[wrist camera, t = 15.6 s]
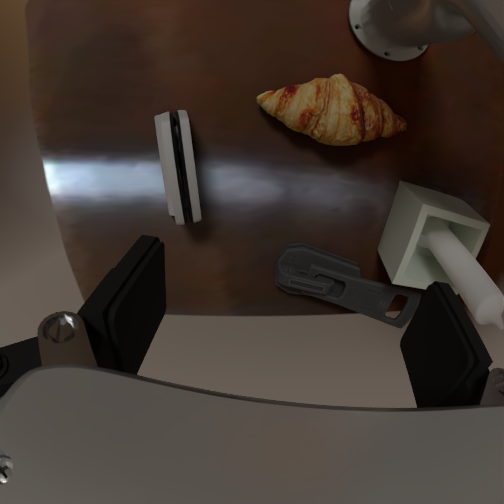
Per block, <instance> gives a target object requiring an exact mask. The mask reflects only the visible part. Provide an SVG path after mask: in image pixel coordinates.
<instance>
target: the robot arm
mask: <svg viewBox="0 0 504 504" xmlns="http://www.w3.org/2000/svg"><path fill="white" fill-rule="evenodd" d="M348 20H349V24H350V27H351V29H352V31H353V34H354V35H355V37H356V38H357V40H358V41H359V42H360V43H361V44H362V45H363V46H364V47H365V48H366V49H367V50H368V51H370V52H371V53H373V54H375V55H376V56H378V57H381V58H383V59H386V60H391V61H406V60H410V59H414V58H416V57H417V56H419V55H421V54H422V53H423V52H424V51H425V50H426V48H427V47H428V45H431V44H436V43H441V42H447V41H453V40H458V39H462V38H465V37H467V36H469V35H470V34H471V33H473V32H474V31H476V32H477V33H478V34H479V35H480V37H481V38H482V39H483V40H484V41H485V42H486V43H487V44H488V46H489V47H490V48H491V50H492V51H493V52H494V54H495V55H496V56H497V58H498V59H499V61H500V62H501V63H502V65H503V66H504V0H351V2H350V4H349V9H348ZM355 26H357V27H358V29H356V28H355ZM418 47H419V50H418ZM384 53H387V56H386V55H385V54H384ZM165 311H166V286H165V253H164V243H163V242H160V240H159V238H158V237H153V236H147V235H142V236H140V238H139V239H138V240H137V241H136V242H135V244H134V245H133V246H132V247H131V248H130V250H129V251H128V252H127V253H126V254H125V256H124V257H123V258H122V259H121V261H120V262H119V263H118V264H117V266H116V267H115V268H112V269H111V270H110V271H109V272H108V274H107V275H106V276H105V277H104V279H103V280H102V281H101V282H100V284H99V285H98V286H97V288H96V289H95V290H94V291H93V293H92V294H91V295H90V297H89V298H88V299H87V301H86V302H85V303H84V305H83V306H82V307H81V309H80V310H79V311H78V313H77V314H75V313H73V312H68V311H61V312H56V313H53V314H51V315H49V316H48V317H46V318H45V319H44V320H43V321H42V322H41V323H40V325H39V327H38V334H37V335H38V336H37V337H34V338H30V339H27V340H24V341H21V342H18V343H14V344H11V345H8V346H5V347H1V348H0V504H504V369H501V368H494V369H493V370H491V372H490V371H489V369H488V367H489V366H490V365H491V363H492V362H493V361H492V359H491V357H490V355H489V353H488V351H487V349H486V347H485V345H484V343H483V341H482V340H481V338H480V336H479V334H478V332H477V330H476V328H475V327H474V325H473V323H472V321H471V320H470V318H469V316H468V315H467V313H466V311H465V309H464V308H463V306H462V304H461V302H460V301H459V299H458V297H457V296H456V294H455V292H454V291H453V289H452V288H451V286H450V285H449V283H444V282H438V281H434V282H433V283H432V284H430V285H428V287H427V289H426V291H425V293H424V295H423V297H422V299H421V301H420V303H419V305H418V307H417V309H416V311H415V313H414V315H413V317H412V319H411V321H410V323H409V325H408V327H407V329H406V331H405V333H404V335H403V337H402V339H401V342H400V348H401V351H402V354H403V358H404V361H405V364H406V368H407V371H408V375H409V378H410V382H411V385H412V389H413V393H414V397H415V400H416V404H417V408H365V407H343V406H327V405H314V404H302V403H293V402H284V401H276V400H267V399H259V398H253V397H246V396H239V395H233V394H227V393H221V392H215V391H210V390H204V389H199V388H194V387H189V386H184V385H179V384H174V383H170V382H165V381H160V380H156V379H152V378H147V377H143V376H139V375H137V373H138V371H139V368H140V366H141V364H142V362H143V360H144V357H145V355H146V353H147V350H148V349H149V346H150V344H151V342H152V340H153V338H154V336H155V333H156V331H157V329H158V327H159V325H160V323H161V321H162V319H163V317H164V314H165Z"/></svg>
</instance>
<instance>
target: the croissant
mask: <svg viewBox="0 0 504 504" xmlns="http://www.w3.org/2000/svg"><path fill="white" fill-rule="evenodd" d="M257 102H258V104H259V105H260V106H261V107H263V109H264V110H265V111H266V112H267V113H268V114H270V115H272V116H273V117H276V118H277V119H278V120H279V121H282V122H283V123H284V124H285V125H286V126H287V127H288V128H290V129H292V130H294V131H297V132H302V133H304V134H307V135H309V136H311V137H312V138H313V139H315V140H316V141H317V142H320V143H324V144H327V145H333V146H348V145H357V144H358V143H361V142H362V141H369V140H374V139H376V138H377V137H379V136H381V137H386V138H389V137H391V136H393V135H395V134H399V133H400V132H405V131H406V130H407V123H406V121H405V119H404V118H403V117H401V116H399V115H396V114H394V113H393V111H392V109H391V108H390V107H389V106H388V105H387V104H386V103H385V102H384V101H383V100H382V99H378V98H377V97H376V96H375V95H373V94H370V93H369V92H368V91H367V89H365V88H364V87H363V86H361V85H358V84H356V83H352V82H350V81H349V80H348V79H347V77H346V76H344V75H343V74H338V75H337V74H335V75H333V76H331V77H330V78H329V79H327V78H315V79H314V80H312V81H311V82H308V83H306V84H302V85H289V86H287V87H284V88H282V89H279V90H277V91H266V92H265V93H263V94H261V95H259V96H258V97H257Z"/></svg>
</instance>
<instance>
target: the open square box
mask: <svg viewBox="0 0 504 504" xmlns="http://www.w3.org/2000/svg"><path fill="white" fill-rule="evenodd" d="M427 215H432V216H435V217H439V218H442V219H446V220H449V229H450V230H451V232H452V233H453V234H454V235H455V236H456V237H457V238H458V239H459V241H460V242H461V243H462V244H463V245H464V246H465V248H466V249H467V250H468V251H469V252H470V253H471V255H472V256H473V257H474V258H475V259H476V257H477V255H478V252H479V250H480V248H481V246H482V243H483V241H484V239H485V236H486V234H487V232H488V229H489V227H490V224H489V223H488V222H487V221H486V220H485V219H484V218H482V217H481V216H480V215H479V214H478V213H477V212H476V211H474V210H473V209H472V208H471V207H470V206H469V205H468V204H466V203H465V202H464V201H463V200H462V199H459V198H456V197H453V196H450V195H447V194H444V193H441V192H437V191H434V190H431V189H428V188H424V187H421V186H418V185H414V184H411V183H407V182H404V181H399V185H398V188H397V191H396V195H395V198H394V201H393V204H392V207H391V210H390V213H389V216H388V219H387V222H386V225H385V228H384V231H383V234H382V237H381V240H380V243H379V246H378V248H377V250H378V253H379V255H380V257H381V259H382V261H383V264H384V266H385V268H386V270H387V273H388V275H389V277H390V280H391V282H392V284H397V285H403V286H409V287H414V288H420V289H427V287H428V285H430V284H432V283H433V282H434V281H438V282H444V283H449V285H450V286H451V288H452V289H453V291H454V292H455V294H456V295H458V293H459V292H458V291H457V289H456V288H455V286H454V284H453V283H452V281H451V280H450V278H449V277H448V275H447V274H446V272H445V271H444V269H443V268H442V266H441V265H440V263H439V262H438V260H437V259H436V257H435V256H434V255H433V253H432V252H431V250H430V249H429V248H424V247H421V246H419V245H418V244H417V242H418V239H419V236H420V234H421V231H422V229H423V226H424V223H425V221H426V218H427Z"/></svg>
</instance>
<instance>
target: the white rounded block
mask: <svg viewBox="0 0 504 504" xmlns="http://www.w3.org/2000/svg"><path fill="white" fill-rule="evenodd" d="M175 114H176V123H177V125H176V126H175V127H174V124H173V116H172V113H169V112H166V113H163V114H160V115H156V116H155V125H156V133H157V140H158V147H159V154H160V161H161V167H162V174H163V180H164V186H165V192H166V198H167V204H168V209H169V215H172V216H175V220H176V225H185V223H186V222H187V216H186V210H185V208H188V211H189V216H190V222H192V221H193V222H194V223H195V222H198V221H200V220H202V219H201V210H200V202H199V194H198V186H197V179H196V171H195V163H194V155H193V148H192V140H191V132H190V124H189V118H188V115H187V112H186V111H185V110H178V112H175ZM178 151H180V153H181V160H182V167H183V175H184V176H183V177H180V171H179V163H178V156H177V152H178Z"/></svg>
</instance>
